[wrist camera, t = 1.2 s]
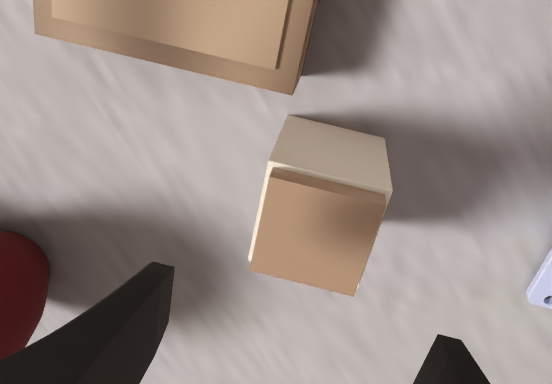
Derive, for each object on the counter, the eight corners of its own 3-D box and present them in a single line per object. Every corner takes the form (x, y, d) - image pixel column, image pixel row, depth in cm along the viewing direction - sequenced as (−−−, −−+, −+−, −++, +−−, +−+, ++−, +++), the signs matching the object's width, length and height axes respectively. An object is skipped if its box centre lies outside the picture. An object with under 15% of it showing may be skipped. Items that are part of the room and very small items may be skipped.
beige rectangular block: (384, 137, 20) (394, 202, 15) (356, 220, 23) (357, 302, 17) (287, 114, 21) (264, 169, 15) (269, 198, 23) (243, 272, 17)
